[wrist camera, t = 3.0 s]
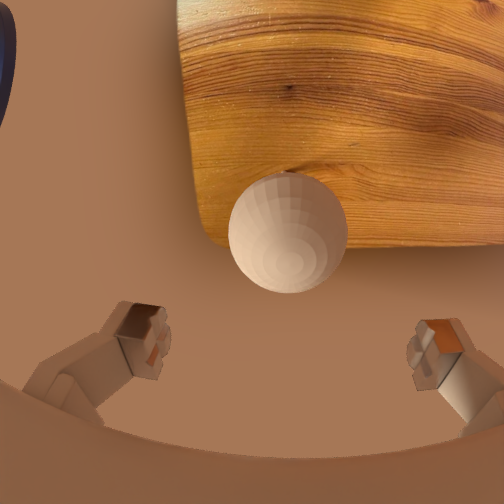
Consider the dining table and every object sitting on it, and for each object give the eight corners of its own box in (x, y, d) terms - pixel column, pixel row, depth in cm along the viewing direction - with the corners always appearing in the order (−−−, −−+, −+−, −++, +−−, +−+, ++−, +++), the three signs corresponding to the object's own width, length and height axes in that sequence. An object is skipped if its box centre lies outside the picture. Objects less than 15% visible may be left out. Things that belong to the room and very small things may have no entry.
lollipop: (249, 138, 24) (211, 192, 11) (318, 139, 23) (368, 194, 10) (251, 206, 27) (225, 319, 14) (316, 206, 26) (348, 320, 13)
